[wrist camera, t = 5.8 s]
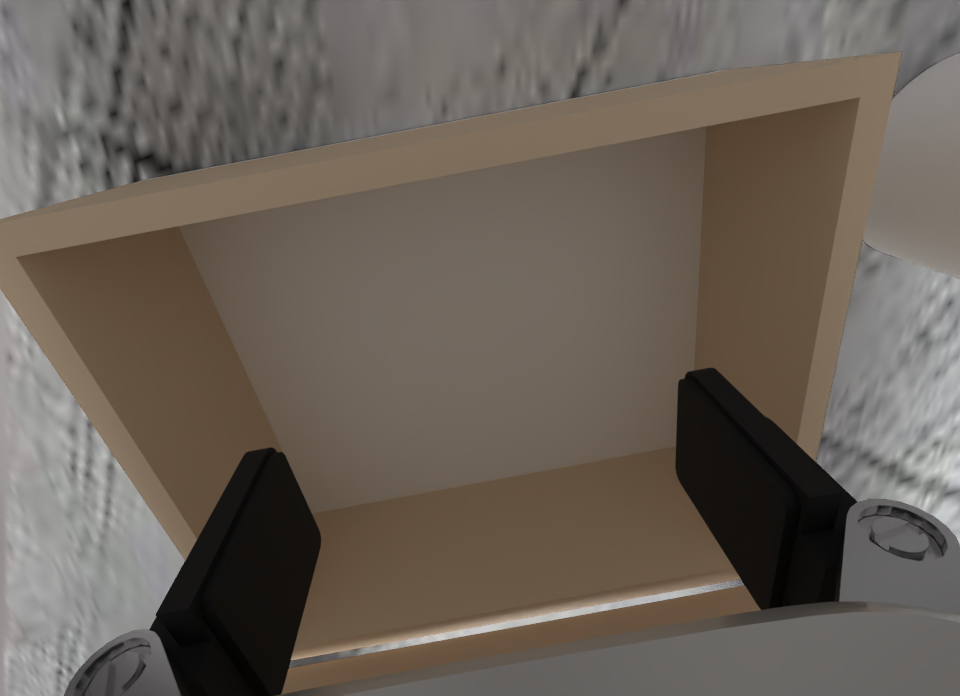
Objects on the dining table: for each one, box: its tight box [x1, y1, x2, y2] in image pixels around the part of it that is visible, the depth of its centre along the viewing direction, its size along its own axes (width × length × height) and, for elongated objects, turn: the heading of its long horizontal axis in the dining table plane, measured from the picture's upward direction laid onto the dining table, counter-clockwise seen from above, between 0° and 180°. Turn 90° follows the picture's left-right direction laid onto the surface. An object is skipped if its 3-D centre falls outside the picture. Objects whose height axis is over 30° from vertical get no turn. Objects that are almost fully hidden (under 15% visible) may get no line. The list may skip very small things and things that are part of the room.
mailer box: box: [0, 52, 902, 660], centre depth 19 cm, size 22×18×8 cm
